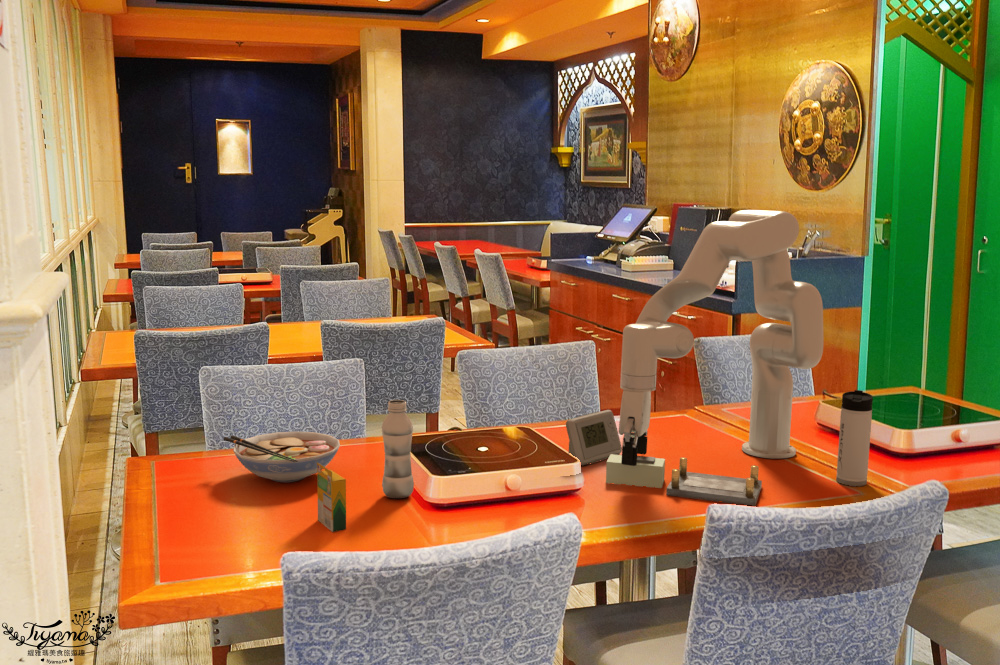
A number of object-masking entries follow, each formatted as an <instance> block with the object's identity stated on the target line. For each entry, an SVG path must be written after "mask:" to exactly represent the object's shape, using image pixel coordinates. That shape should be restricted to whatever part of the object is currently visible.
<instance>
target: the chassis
mask: <svg viewBox="0 0 1000 665" xmlns="http://www.w3.org/2000/svg"><path fill="white" fill-rule="evenodd" d="M678 468H679V469H676V468H672V469H671V480H670V482H669V483H668V485H667V487H666V489H665V490H666V492H665V494H666V495H665V496H669V497H670V496H672V497H679V498H685V499H686V498H687V499H695V500H700V501H701V500H702V501H709V502H717V503H718V502H719V501H722V502H721V503H726V504H732V503H734V505H740V504H744V505H743V506H747V505H752V506H751V507H756V505H757V502H758V499H759V496H760V492H761V490H762V483H763V481H762V480H760V479H759V468H760V467H759V465H755V464H754V465H751V466H750V476H749V477H747V478H744V477H743V478H741V477H735V476H726V475H717V474H709V473H708V474H707V473H701V472H692V471H688V458H687V457H679V466H678ZM719 503H720V502H719Z"/></svg>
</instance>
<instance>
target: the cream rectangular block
mask: <svg viewBox="0 0 1000 665" xmlns="http://www.w3.org/2000/svg"><path fill="white" fill-rule="evenodd" d="M606 460H607V461H606V466H605V470H606V471H605V472H606V474H605V483H606V484H610V483H614V484H613V485H621V484H626V485H625V486H632V485H635V486H634V487H643V486H646V488H654V487H655V488H658V489H663V487H664V486H663V485H664V482H665V472H666V471H665V470H666V469H665V467H666V458H658V457H656V456H655V457H654V456H647V455H646V456H645V455H644V456H643V455H640V456H639V455H637V465H636V466H630V465H623V464H622V463H621V462H622V454H618V455H614V454H610V456H609V458H608V459H606Z"/></svg>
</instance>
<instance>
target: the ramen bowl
mask: <svg viewBox="0 0 1000 665" xmlns="http://www.w3.org/2000/svg"><path fill="white" fill-rule="evenodd" d="M223 441H226V442H228V443H232V444H234V445H233V449H232V450H233V453H234V454H235V456H236V459H237V460H238V461H239V462H240V463H241V465H242V466H243V467H244V468H245V469H247V470H248V471H249V472H250V473H252V474H253V475H255V476H257V477H261V478H263V479H268V480H271V481H274V482H277V483H295V482H298V481H302V480H304V479H305V478H308V477H310V476H312V475H314V474H317V462H318V463H319V464H321V465H323V466H324V467H327V466H328V465H329V464H330V463H331V461H332V460H333V459H334V457H335V455H336V454H337V453H338V450H339V448H340V446H341V443H340V440H339V439H338V438H336V437H334V436H332V435H330V434H326V433H320V432H311V431H279V432H278V431H277V432H273V433H272V432H271V433H263V434H258V435H254V436H252V437H248V438H245V439H243V438H241V437H238V436H236V435H230V437H227V436H224V437H223Z"/></svg>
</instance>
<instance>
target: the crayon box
mask: <svg viewBox="0 0 1000 665" xmlns="http://www.w3.org/2000/svg"><path fill="white" fill-rule="evenodd" d="M316 474H317V477H316V478H317V482H316V484H317V522H319V523H321V524H322V525H323V526H324V527H325V528H327V529H328V530H329V531H331V533H337V532H340V531H345V530H347V479H346V478H344V477H343V476H341V475H340V474H338V473H337V472H335V471H333V470H332V469H328V468H327V466H325V467H324V466H323V465H321V464H319V463H318V462H317V473H316Z"/></svg>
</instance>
